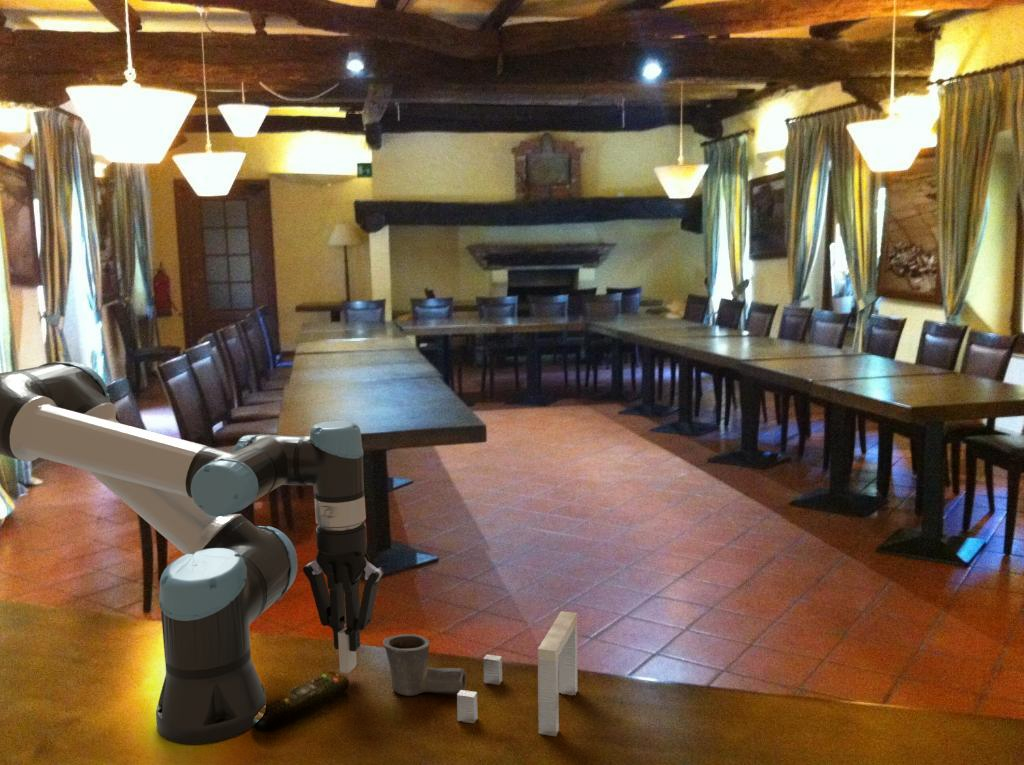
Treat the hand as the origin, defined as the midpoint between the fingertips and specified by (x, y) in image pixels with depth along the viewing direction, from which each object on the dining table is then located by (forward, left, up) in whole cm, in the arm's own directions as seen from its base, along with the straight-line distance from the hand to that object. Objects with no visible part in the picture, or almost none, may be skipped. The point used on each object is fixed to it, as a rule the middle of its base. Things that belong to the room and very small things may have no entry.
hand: (348, 668), depth 138 cm
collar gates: (+28, 0, -2) cm, 28 cm away
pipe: (+13, 0, -2) cm, 13 cm away
